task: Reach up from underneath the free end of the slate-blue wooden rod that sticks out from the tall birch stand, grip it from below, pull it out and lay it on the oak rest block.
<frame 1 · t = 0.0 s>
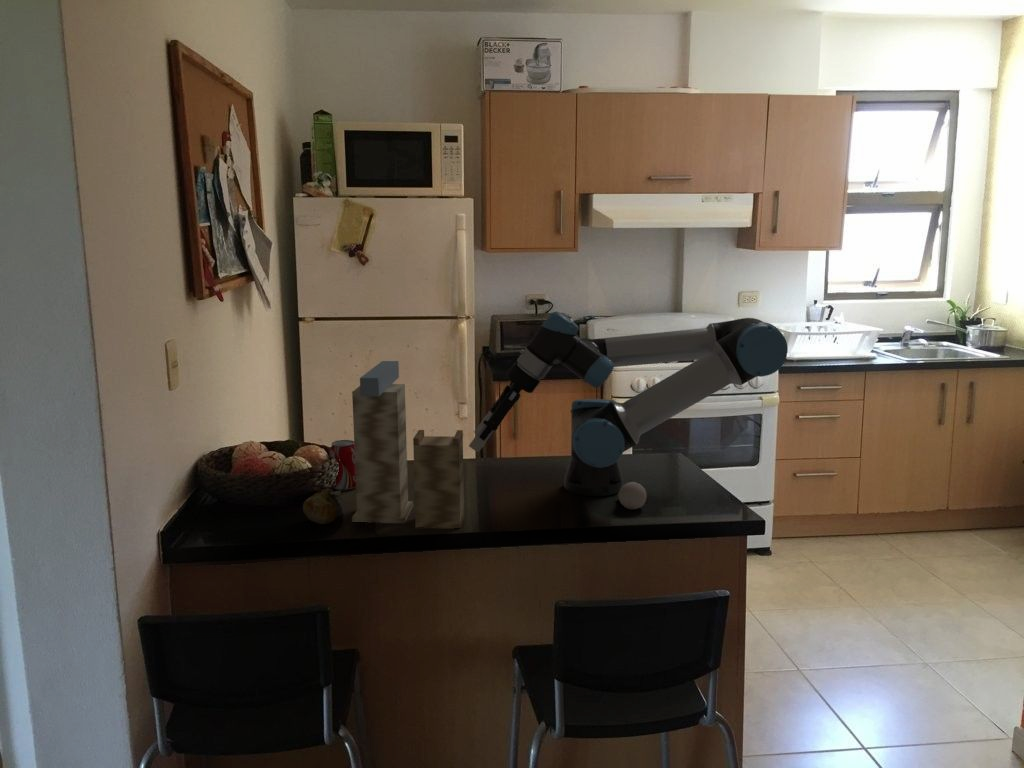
hand: (476, 441, 199), 15 cm above the table, tool tilted 35°, fingers open, 13 cm apart
soda can: (344, 488, 215), on the table
onion: (321, 523, 189), on the table
rest block: (440, 522, 189), on the table
stand: (383, 514, 195), on the table
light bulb: (629, 506, 200), on the table
rod: (380, 386, 191), point 30 cm above the table, touching stand
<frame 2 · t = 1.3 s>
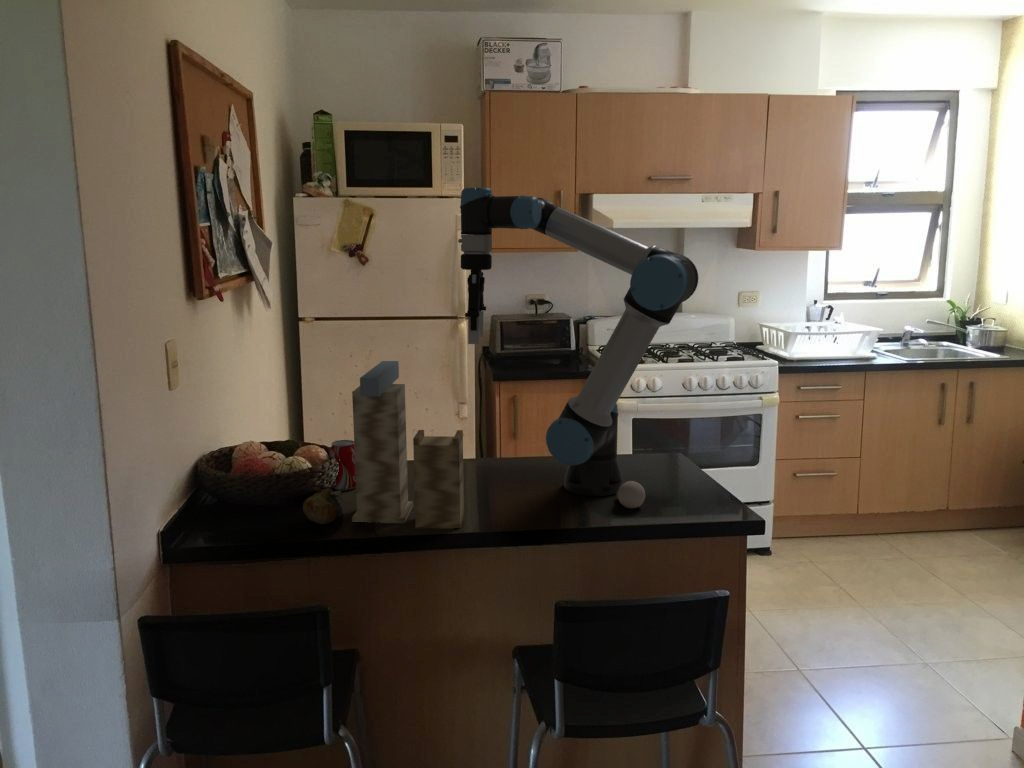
hand: (476, 340, 206), 38 cm above the table, tool pointing down, fingers open, 13 cm apart
nothing on the table moved.
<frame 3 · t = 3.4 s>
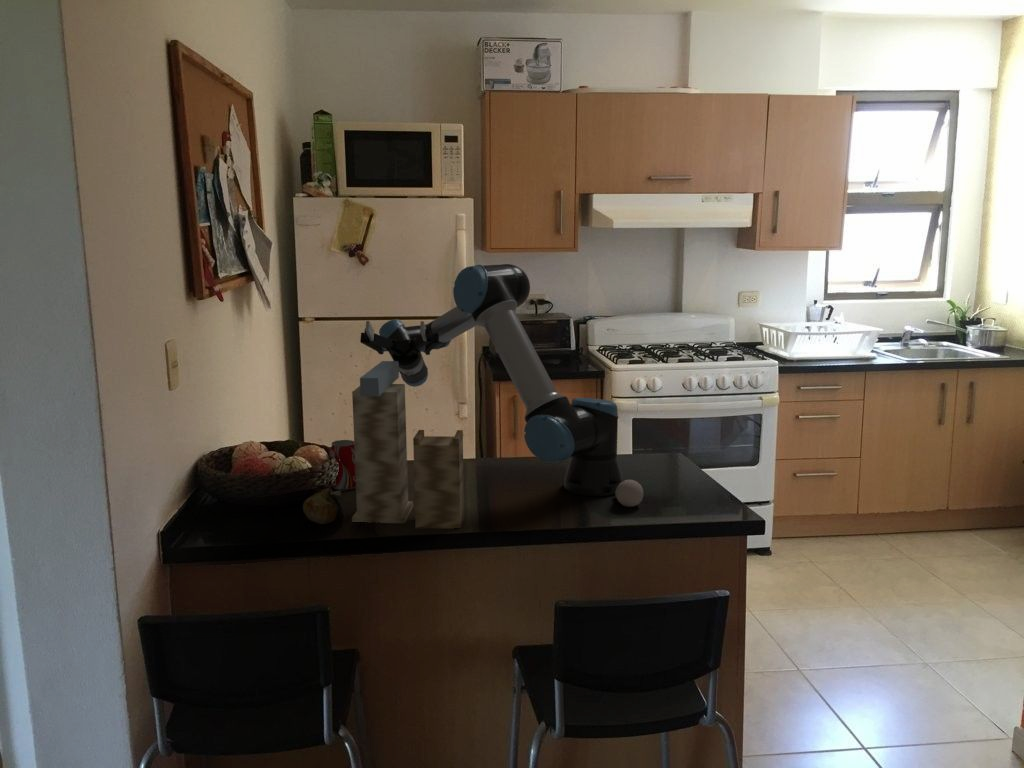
hand: (394, 325, 207), 42 cm above the table, tool pointing upward, fingers open, 13 cm apart
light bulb: (626, 504, 202), on the table
everything else where it was.
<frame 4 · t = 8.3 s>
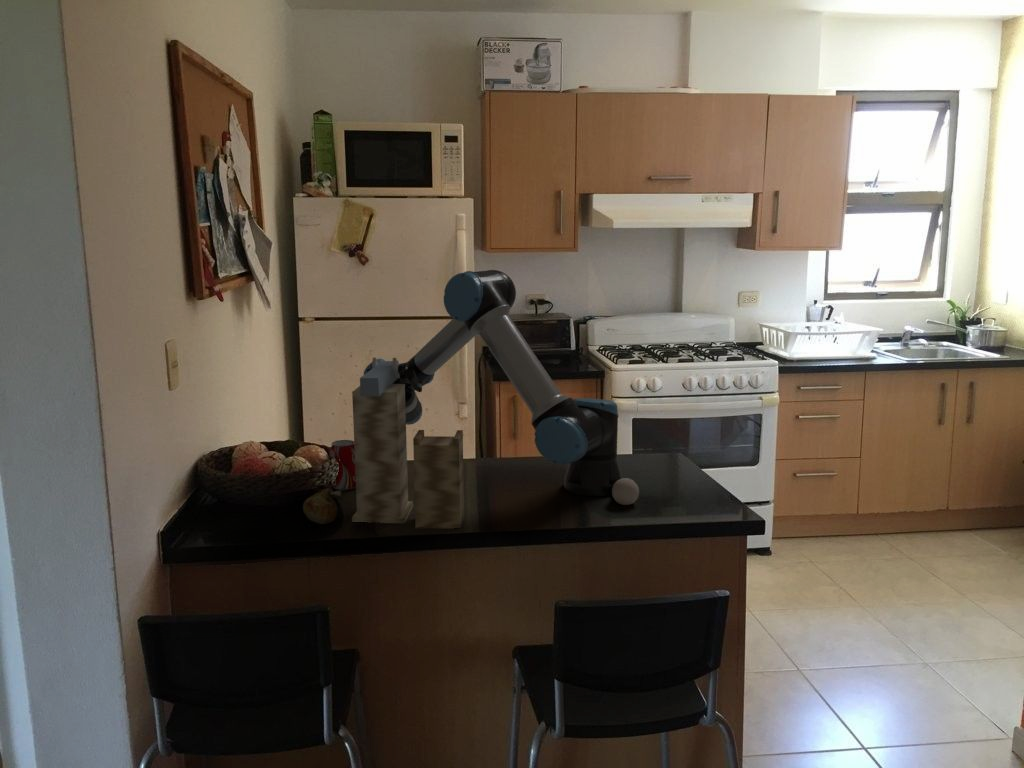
hand: (384, 363, 195), 35 cm above the table, tool pointing upward, fingers closed on rod, 4 cm apart
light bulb: (623, 502, 203), on the table
rod: (380, 386, 191), point 30 cm above the table, touching gripper, stand
everything else where it was.
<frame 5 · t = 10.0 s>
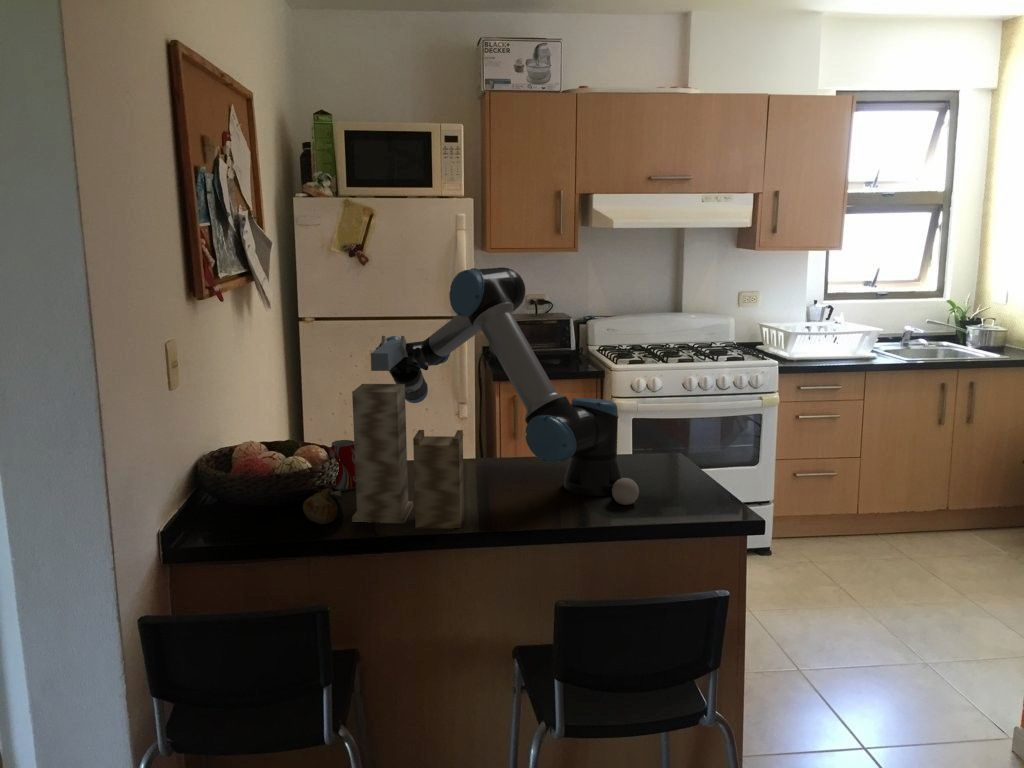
hand: (392, 340, 204), 39 cm above the table, tool pointing upward, fingers closed on rod, 4 cm apart
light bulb: (623, 502, 203), on the table, touching arm
rod: (389, 362, 200), point 34 cm above the table, touching gripper
everything else where it was.
when the fingers open (25 cm above the table, at t = 15.1 s): rod drops 1 cm, resting on rest block.
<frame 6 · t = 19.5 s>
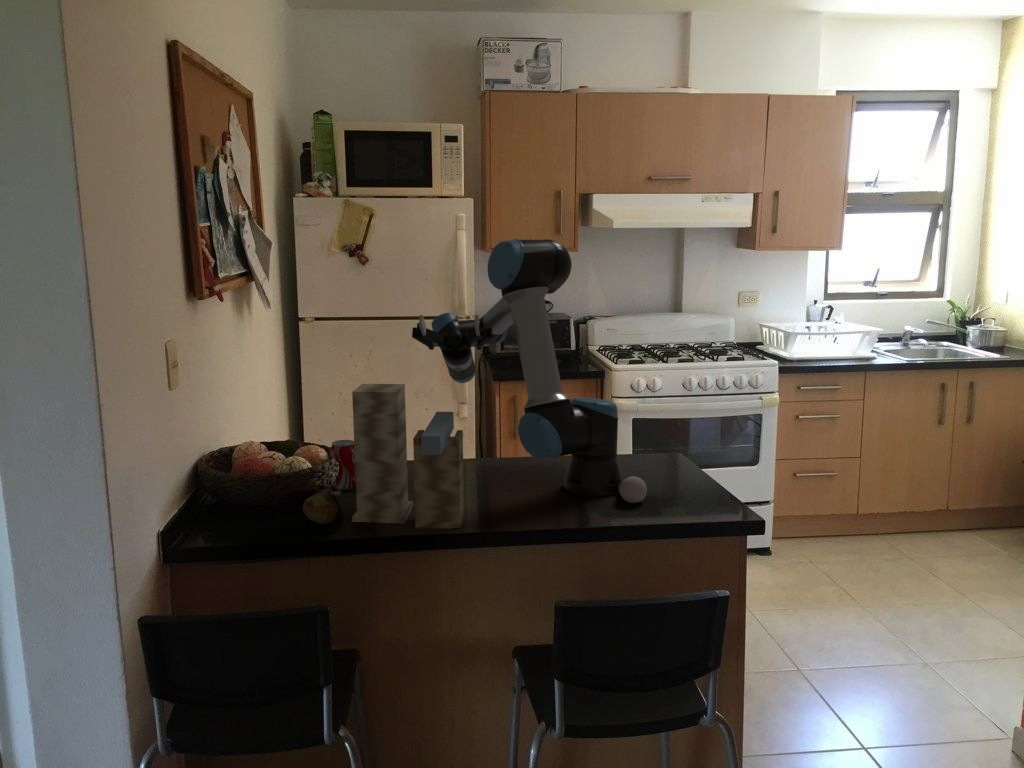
hand: (448, 320, 203), 44 cm above the table, tool pointing upward, fingers open, 13 cm apart
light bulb: (630, 500, 205), on the table
rod: (438, 440, 186), point 19 cm above the table, touching rest block
everything else where it was.
at the end: rod inside the target area on the rest block (0.1 cm from its centre), point 19.0 cm above the rest block's base; rod touching rest block; the gripper is holding nothing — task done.
